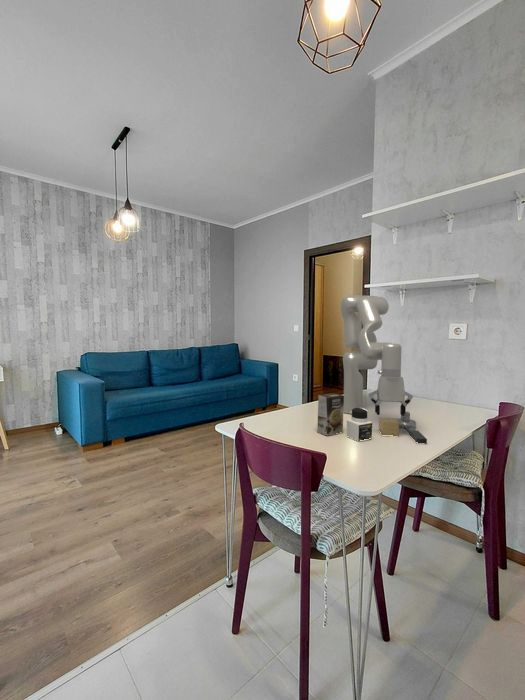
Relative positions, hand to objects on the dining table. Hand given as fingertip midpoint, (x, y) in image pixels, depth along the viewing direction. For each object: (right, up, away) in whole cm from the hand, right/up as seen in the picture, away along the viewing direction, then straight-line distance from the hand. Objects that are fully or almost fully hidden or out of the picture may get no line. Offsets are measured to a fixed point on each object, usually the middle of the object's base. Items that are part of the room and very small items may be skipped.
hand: (390, 414), depth 138 cm
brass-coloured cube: (0, -8, +1) cm, 8 cm away
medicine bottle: (-14, -9, -4) cm, 17 cm away
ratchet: (+10, -8, +3) cm, 13 cm away
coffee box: (-24, -8, +3) cm, 26 cm away
